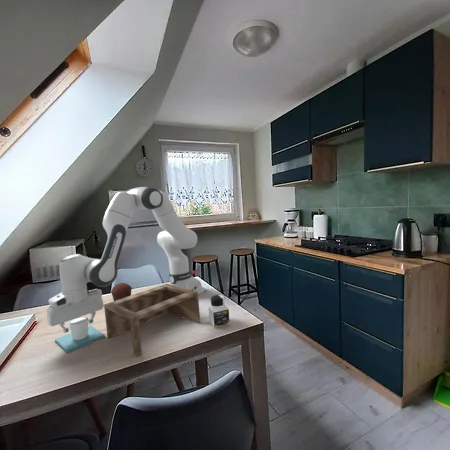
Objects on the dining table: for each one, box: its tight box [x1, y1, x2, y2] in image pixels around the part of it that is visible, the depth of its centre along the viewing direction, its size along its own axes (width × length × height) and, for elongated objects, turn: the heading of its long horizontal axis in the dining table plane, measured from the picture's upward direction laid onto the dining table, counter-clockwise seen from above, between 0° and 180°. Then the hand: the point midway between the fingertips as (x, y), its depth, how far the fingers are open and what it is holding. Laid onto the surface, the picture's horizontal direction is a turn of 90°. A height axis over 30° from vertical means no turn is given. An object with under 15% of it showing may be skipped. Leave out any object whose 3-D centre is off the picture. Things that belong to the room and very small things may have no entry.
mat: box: [54, 325, 105, 354], centre depth 104 cm, size 14×14×1 cm
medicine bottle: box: [207, 294, 231, 329], centre depth 111 cm, size 7×7×12 cm
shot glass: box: [68, 316, 89, 340], centre depth 104 cm, size 7×7×7 cm
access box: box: [103, 283, 201, 357], centre depth 108 cm, size 31×23×14 cm
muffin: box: [110, 282, 133, 301], centre depth 146 cm, size 12×11×10 cm
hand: (78, 327), depth 104 cm, fingers open, 8 cm apart
